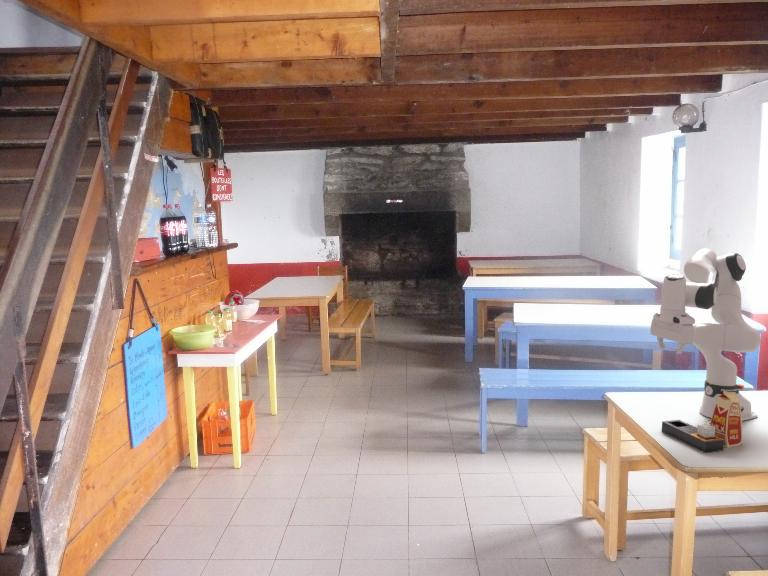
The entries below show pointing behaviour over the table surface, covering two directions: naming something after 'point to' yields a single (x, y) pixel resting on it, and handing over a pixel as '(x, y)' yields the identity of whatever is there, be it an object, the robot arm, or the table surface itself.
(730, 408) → the milk carton
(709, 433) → the grey square block
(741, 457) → the table surface
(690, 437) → the box with square holes
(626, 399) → the table surface
